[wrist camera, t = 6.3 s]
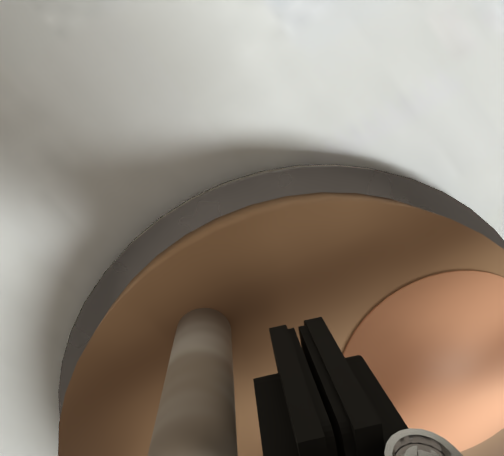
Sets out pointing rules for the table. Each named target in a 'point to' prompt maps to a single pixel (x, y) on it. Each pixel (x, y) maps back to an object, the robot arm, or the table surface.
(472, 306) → the turntable
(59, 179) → the table surface
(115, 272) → the base
